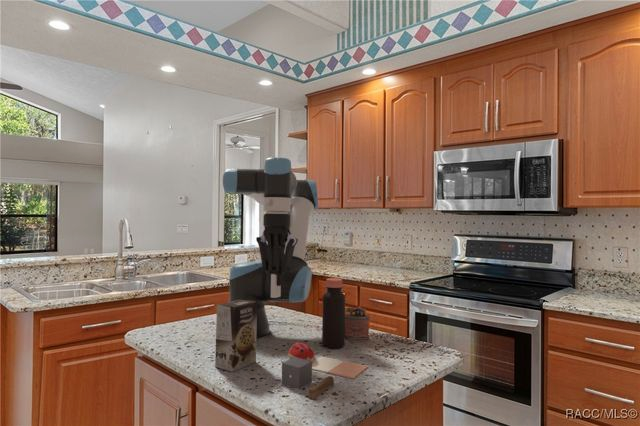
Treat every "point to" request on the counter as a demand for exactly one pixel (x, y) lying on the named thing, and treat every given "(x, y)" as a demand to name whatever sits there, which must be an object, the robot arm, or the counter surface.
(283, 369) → the die
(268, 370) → the counter surface
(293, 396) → the counter surface
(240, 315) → the coffee box
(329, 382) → the brown bar
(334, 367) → the track
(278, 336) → the counter surface
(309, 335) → the counter surface
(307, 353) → the ladybug figurine
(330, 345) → the bottle
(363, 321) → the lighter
